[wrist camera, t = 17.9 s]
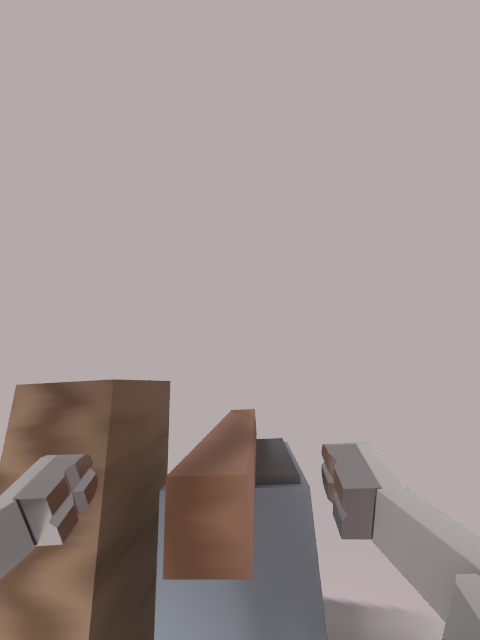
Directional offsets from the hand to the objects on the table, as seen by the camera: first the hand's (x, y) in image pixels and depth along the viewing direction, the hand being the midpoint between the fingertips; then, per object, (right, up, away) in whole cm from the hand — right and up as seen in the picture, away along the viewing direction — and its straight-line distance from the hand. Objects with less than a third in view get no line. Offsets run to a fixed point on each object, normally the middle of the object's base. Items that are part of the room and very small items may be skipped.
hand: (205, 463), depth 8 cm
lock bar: (+1, -7, +10) cm, 12 cm away
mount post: (-11, -25, +9) cm, 28 cm away
